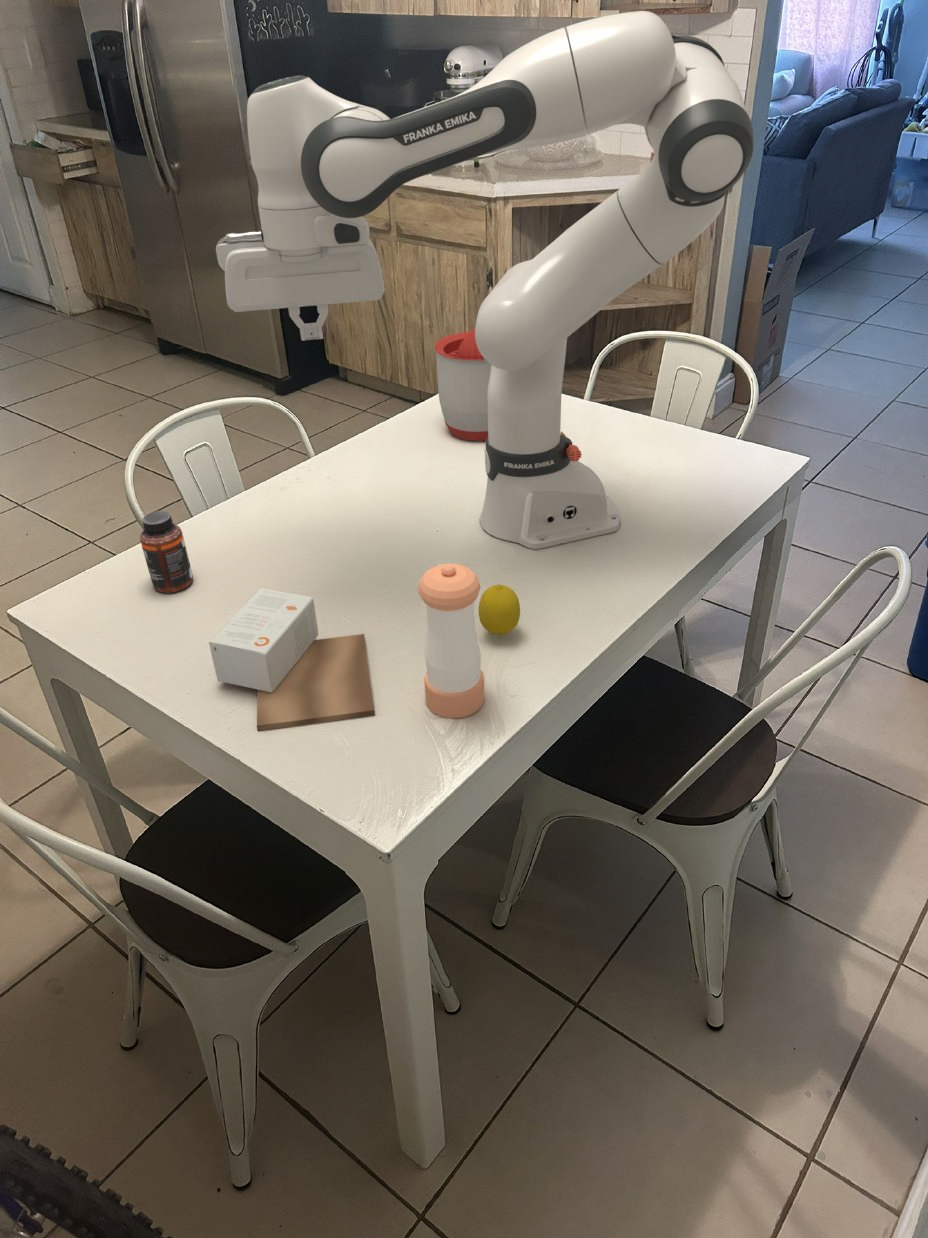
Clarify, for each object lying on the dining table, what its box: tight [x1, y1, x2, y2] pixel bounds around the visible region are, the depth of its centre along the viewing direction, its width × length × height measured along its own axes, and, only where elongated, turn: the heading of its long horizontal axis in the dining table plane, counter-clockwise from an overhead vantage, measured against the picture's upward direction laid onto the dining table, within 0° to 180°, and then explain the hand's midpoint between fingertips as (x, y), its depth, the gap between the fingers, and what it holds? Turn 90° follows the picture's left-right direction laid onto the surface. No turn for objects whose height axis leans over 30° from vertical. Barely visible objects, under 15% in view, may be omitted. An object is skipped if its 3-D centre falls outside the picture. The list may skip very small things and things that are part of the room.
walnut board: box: [256, 633, 376, 732], centre depth 117 cm, size 14×16×1 cm
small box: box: [208, 587, 319, 693], centre depth 119 cm, size 8×6×13 cm
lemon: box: [477, 584, 521, 637], centre depth 122 cm, size 6×6×8 cm
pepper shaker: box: [417, 563, 486, 719], centre depth 108 cm, size 7×7×19 cm
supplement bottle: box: [139, 510, 194, 594], centre depth 134 cm, size 6×6×11 cm
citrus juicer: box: [433, 327, 491, 442], centre depth 174 cm, size 16×17×20 cm
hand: (312, 338), depth 123 cm, fingers closed
